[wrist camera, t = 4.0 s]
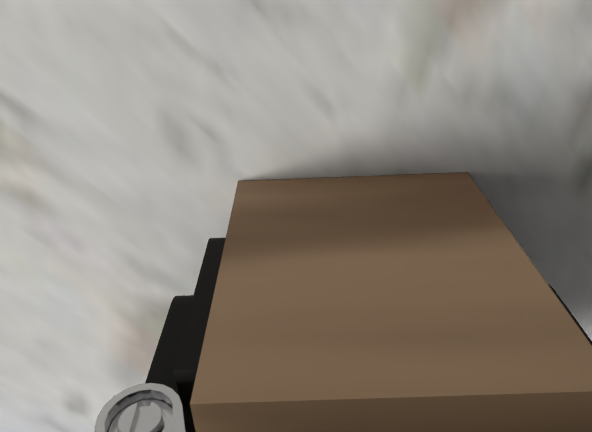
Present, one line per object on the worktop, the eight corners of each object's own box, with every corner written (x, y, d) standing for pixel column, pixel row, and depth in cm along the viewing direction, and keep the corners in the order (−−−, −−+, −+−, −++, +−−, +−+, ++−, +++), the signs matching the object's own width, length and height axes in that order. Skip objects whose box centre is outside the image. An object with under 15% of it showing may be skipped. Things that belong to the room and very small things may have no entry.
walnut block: (238, 180, 11) (190, 404, 6) (467, 171, 11) (623, 390, 6) (256, 349, 14) (232, 612, 8) (443, 343, 14) (538, 604, 8)
